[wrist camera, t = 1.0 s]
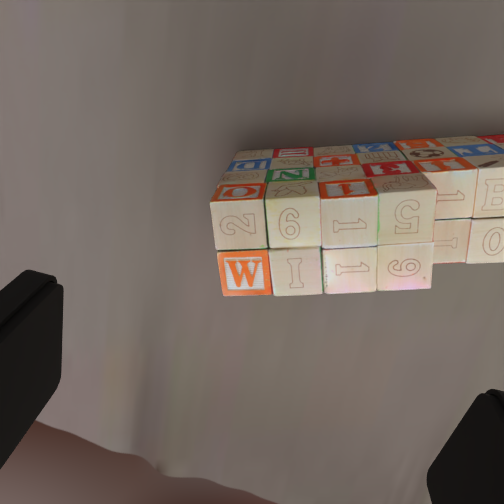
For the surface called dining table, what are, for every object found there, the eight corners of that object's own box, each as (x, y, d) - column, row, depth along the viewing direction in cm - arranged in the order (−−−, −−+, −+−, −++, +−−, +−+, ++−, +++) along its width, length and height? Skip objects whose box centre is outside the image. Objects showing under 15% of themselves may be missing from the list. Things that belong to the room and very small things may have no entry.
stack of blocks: (519, 129, 32) (637, 176, 21) (505, 208, 34) (603, 287, 23) (235, 150, 34) (206, 202, 23) (243, 222, 37) (220, 299, 26)
